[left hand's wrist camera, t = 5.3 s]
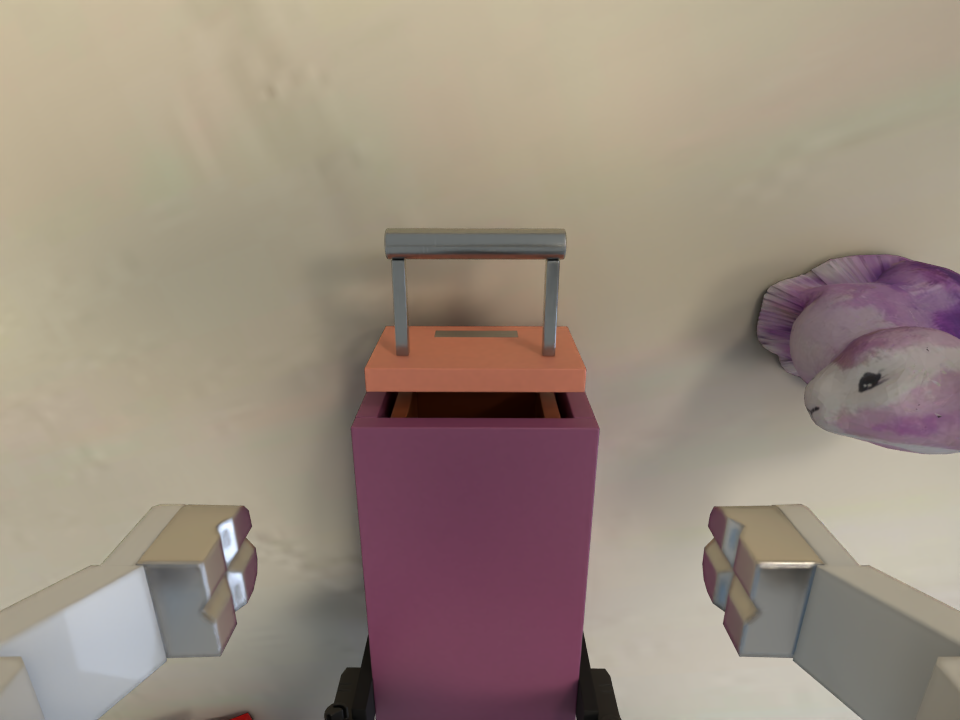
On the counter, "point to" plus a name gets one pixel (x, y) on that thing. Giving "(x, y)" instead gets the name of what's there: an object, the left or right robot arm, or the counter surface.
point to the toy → (242, 717)
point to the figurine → (873, 348)
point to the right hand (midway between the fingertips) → (476, 630)
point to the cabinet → (475, 559)
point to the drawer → (475, 337)
